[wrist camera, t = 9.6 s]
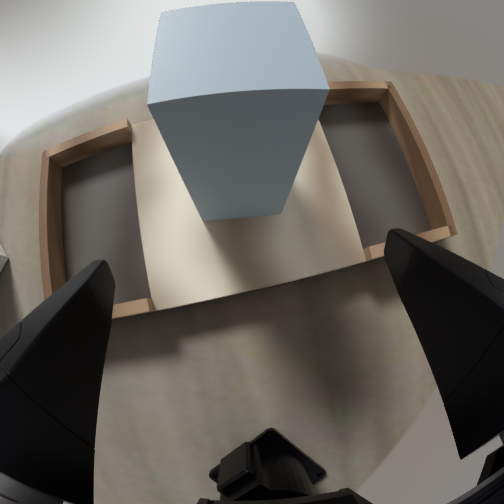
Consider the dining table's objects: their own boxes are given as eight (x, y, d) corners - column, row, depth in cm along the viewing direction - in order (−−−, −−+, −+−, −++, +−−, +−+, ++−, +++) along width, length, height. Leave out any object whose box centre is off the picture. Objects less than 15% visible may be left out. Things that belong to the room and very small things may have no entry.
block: (270, 146, 20) (294, 2, 8) (281, 213, 19) (329, 89, 7) (199, 153, 20) (160, 12, 8) (203, 222, 19) (147, 104, 7)
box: (379, 100, 23) (391, 81, 20) (436, 242, 21) (457, 234, 18) (59, 166, 21) (42, 151, 18) (71, 327, 19) (49, 329, 16)
